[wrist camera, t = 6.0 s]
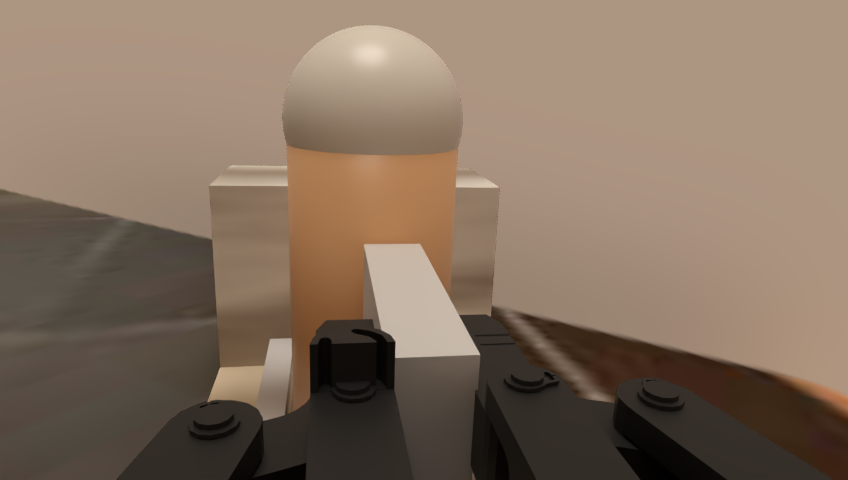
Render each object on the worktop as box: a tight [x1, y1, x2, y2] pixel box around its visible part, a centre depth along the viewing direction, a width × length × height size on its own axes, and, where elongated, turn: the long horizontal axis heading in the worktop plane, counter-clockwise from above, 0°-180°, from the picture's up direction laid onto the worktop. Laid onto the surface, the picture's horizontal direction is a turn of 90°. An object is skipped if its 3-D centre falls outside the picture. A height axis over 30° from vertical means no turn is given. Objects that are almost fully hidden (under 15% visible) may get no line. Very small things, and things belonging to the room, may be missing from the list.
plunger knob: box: [282, 25, 462, 411], centre depth 18 cm, size 5×5×14 cm
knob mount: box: [208, 166, 500, 480], centre depth 21 cm, size 20×12×10 cm, turn 9°
